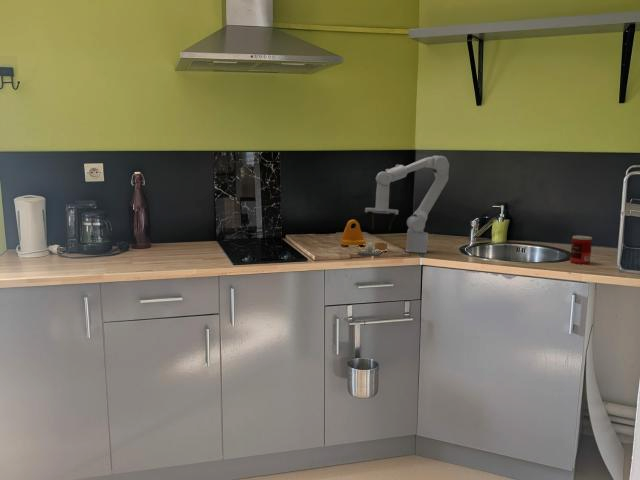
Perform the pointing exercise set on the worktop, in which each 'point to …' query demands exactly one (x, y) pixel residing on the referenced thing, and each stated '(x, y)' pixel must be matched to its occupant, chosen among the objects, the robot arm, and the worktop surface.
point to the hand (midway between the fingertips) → (380, 229)
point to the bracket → (352, 234)
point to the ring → (381, 246)
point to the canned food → (581, 249)
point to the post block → (369, 251)
